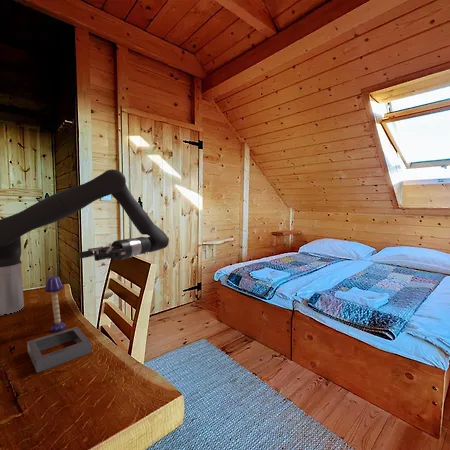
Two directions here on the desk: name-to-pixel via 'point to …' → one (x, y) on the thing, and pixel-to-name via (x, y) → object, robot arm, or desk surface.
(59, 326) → the toy lamp
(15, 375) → the desk surface
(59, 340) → the square frame
